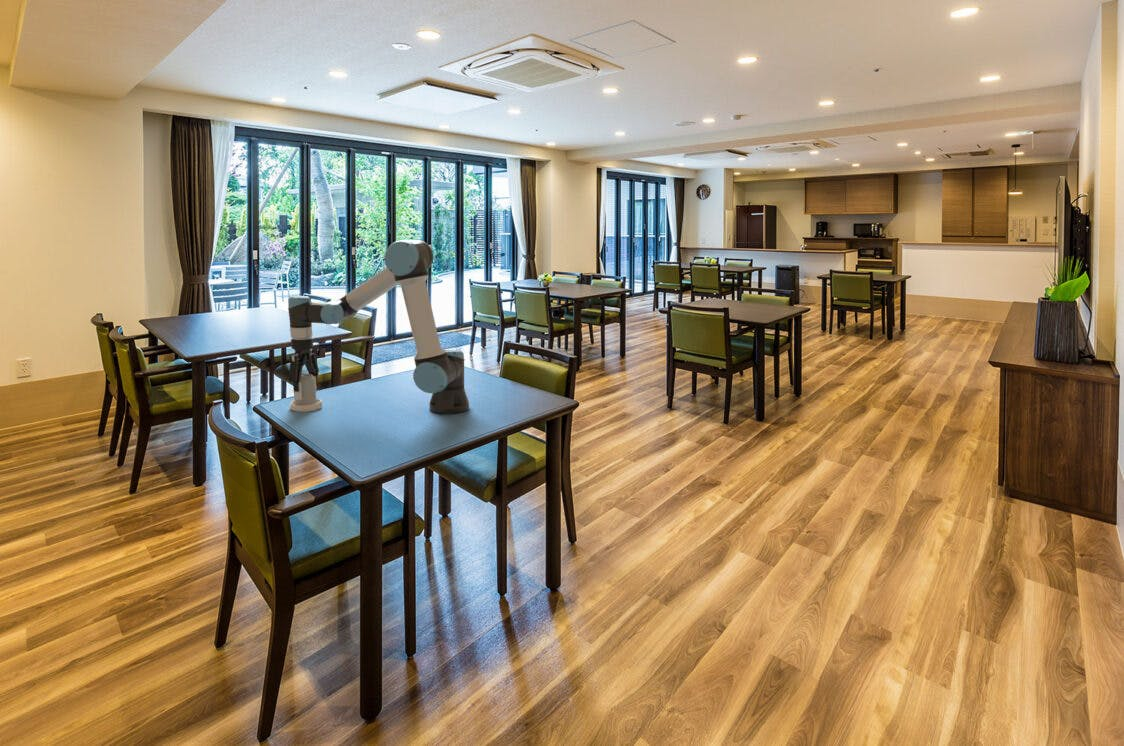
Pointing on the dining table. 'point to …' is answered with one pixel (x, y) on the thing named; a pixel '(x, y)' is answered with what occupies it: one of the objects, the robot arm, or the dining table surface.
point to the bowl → (306, 406)
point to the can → (307, 390)
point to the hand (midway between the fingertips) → (305, 395)
